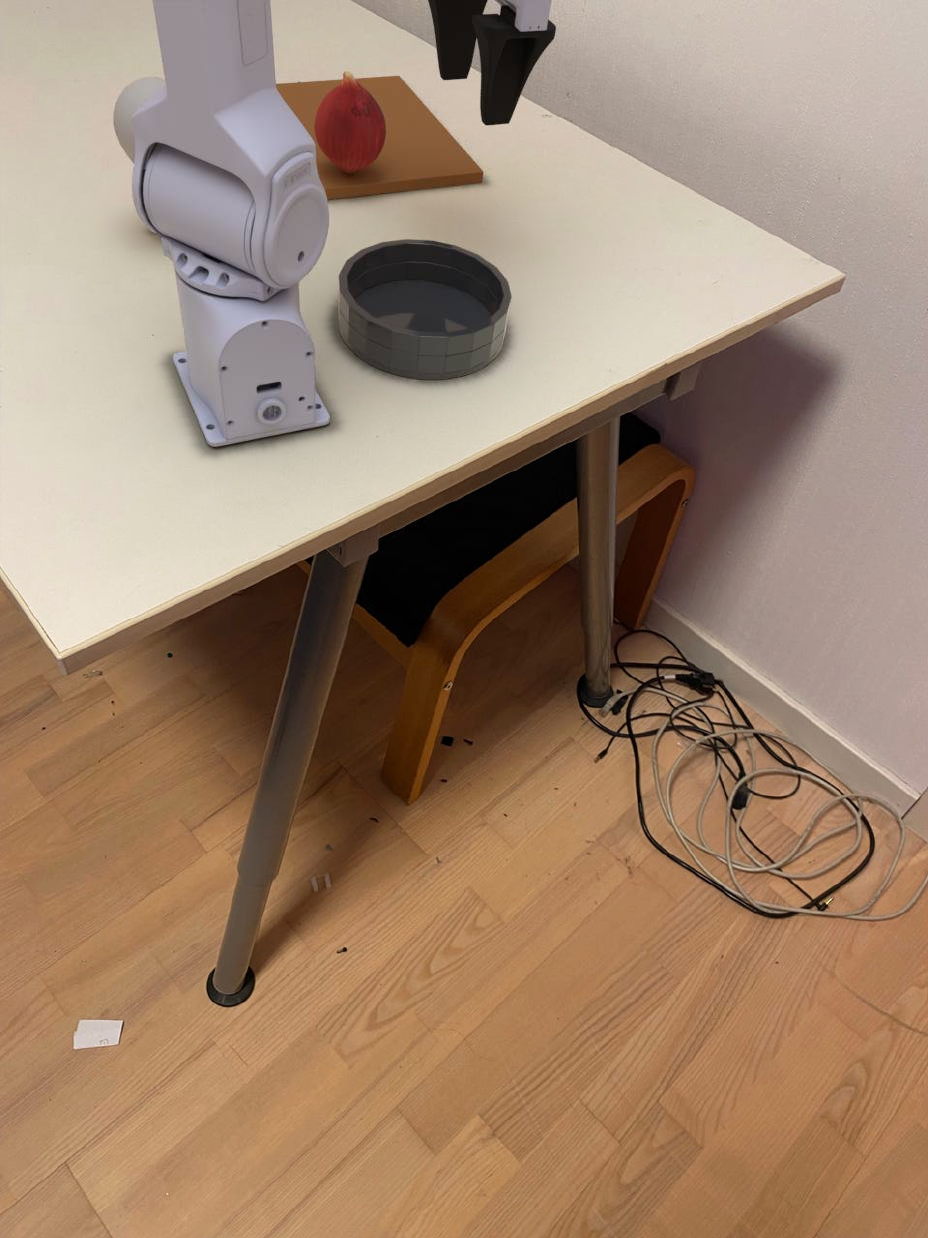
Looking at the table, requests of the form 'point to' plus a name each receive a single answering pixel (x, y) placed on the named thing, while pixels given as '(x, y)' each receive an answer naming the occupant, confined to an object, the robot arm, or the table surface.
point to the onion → (350, 126)
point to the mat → (388, 142)
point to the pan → (423, 308)
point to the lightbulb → (132, 110)
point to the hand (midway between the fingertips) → (474, 99)
